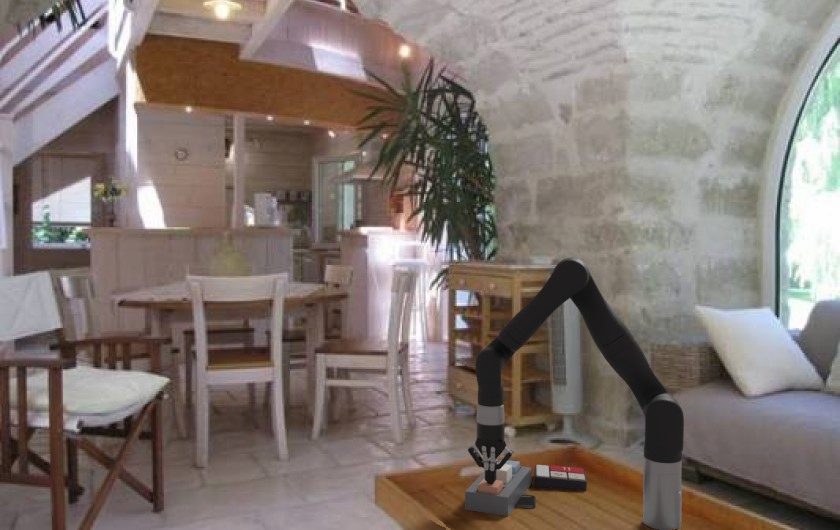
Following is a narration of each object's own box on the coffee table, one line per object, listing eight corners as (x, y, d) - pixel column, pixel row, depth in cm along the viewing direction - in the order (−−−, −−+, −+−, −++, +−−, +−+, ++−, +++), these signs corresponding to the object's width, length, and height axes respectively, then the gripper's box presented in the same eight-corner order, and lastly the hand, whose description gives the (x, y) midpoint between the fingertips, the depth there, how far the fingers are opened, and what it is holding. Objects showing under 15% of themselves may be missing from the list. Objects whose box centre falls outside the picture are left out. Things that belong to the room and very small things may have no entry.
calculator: (587, 479, 206) (535, 474, 209) (586, 494, 207) (534, 488, 209) (584, 467, 217) (535, 462, 219) (583, 481, 217) (534, 476, 220)
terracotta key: (503, 494, 195) (503, 480, 195) (497, 502, 190) (497, 487, 190) (483, 492, 197) (483, 478, 197) (477, 499, 192) (477, 484, 192)
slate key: (520, 474, 212) (520, 461, 212) (515, 480, 207) (515, 467, 207) (501, 472, 214) (501, 459, 214) (496, 478, 209) (496, 465, 209)
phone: (482, 492, 203) (535, 495, 201) (482, 496, 203) (535, 499, 201) (480, 502, 195) (535, 505, 193) (480, 506, 195) (535, 510, 193)
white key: (512, 478, 204) (512, 465, 203) (506, 484, 198) (506, 471, 198) (493, 475, 206) (493, 462, 206) (487, 482, 201) (487, 468, 200)
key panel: (531, 484, 212) (531, 467, 212) (508, 516, 188) (508, 497, 188) (492, 478, 217) (492, 462, 216) (465, 509, 193) (465, 491, 192)
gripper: (517, 419, 194) (517, 481, 195) (471, 414, 199) (471, 475, 200) (510, 426, 187) (510, 491, 188) (463, 421, 192) (463, 484, 193)
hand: (490, 483), depth 194 cm, fingers closed
